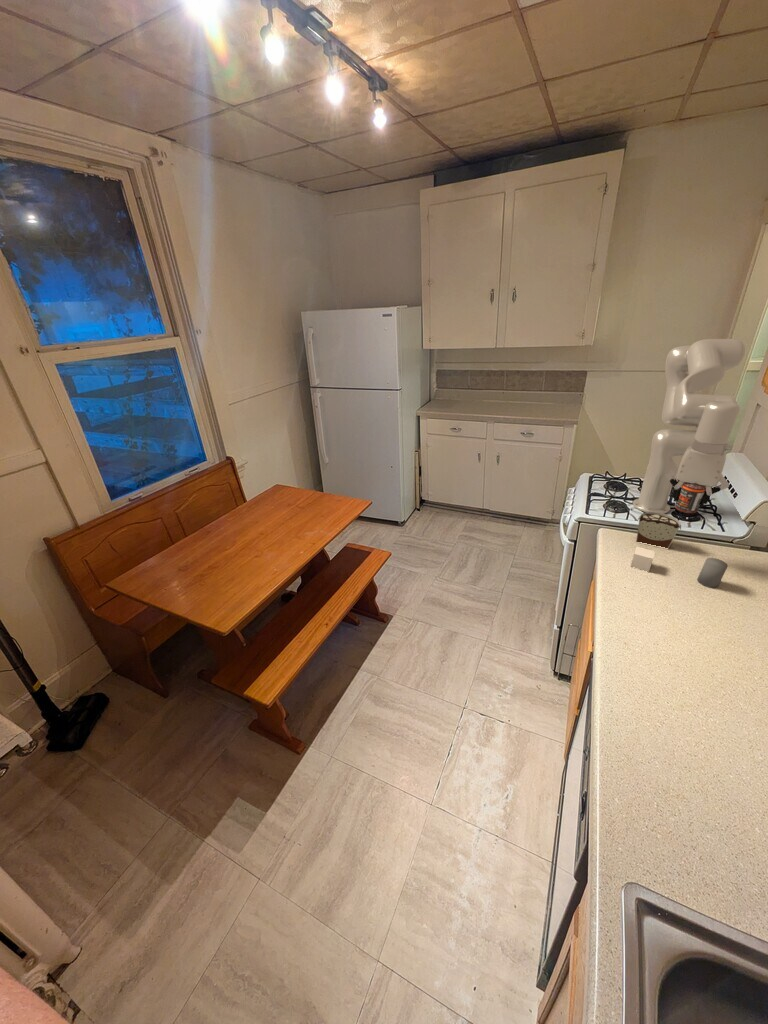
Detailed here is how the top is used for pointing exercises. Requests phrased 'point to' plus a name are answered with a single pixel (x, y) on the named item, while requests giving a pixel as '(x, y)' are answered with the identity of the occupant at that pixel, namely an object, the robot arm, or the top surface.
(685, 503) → the supplement bottle
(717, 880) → the top surface
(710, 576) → the gray cylinder
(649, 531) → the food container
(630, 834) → the top surface
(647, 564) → the off-white block
